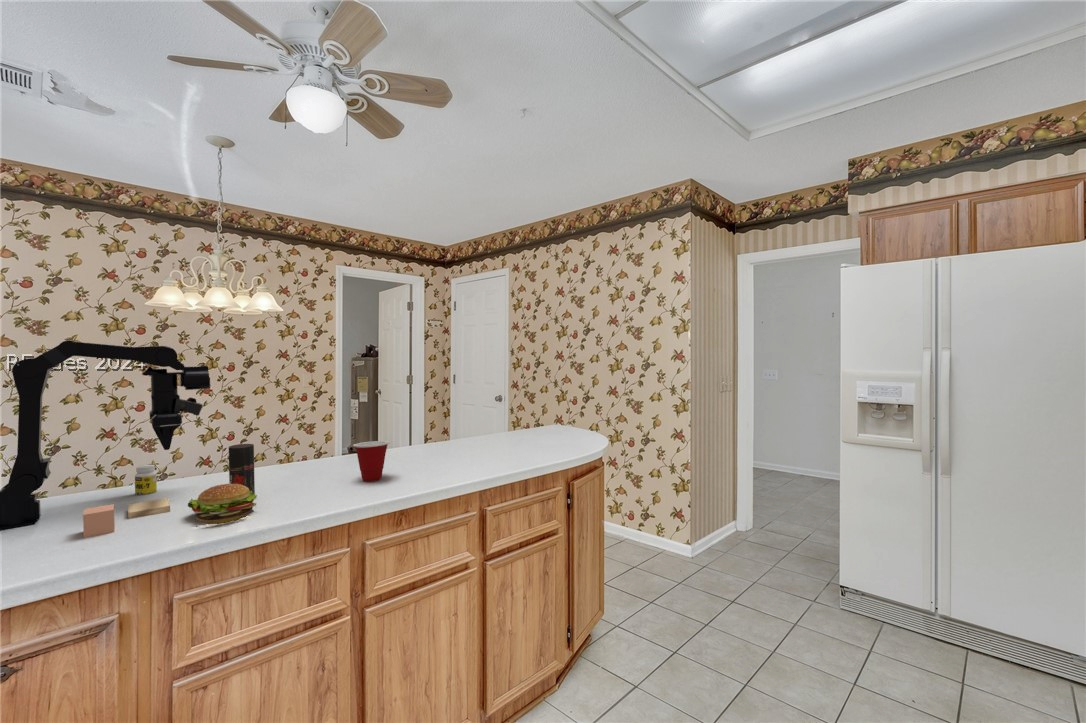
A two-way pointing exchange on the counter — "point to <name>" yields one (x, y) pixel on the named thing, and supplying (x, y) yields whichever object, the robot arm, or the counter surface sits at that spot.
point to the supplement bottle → (145, 480)
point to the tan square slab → (148, 508)
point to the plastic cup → (371, 459)
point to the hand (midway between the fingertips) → (165, 447)
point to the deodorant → (242, 465)
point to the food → (223, 503)
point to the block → (98, 520)
